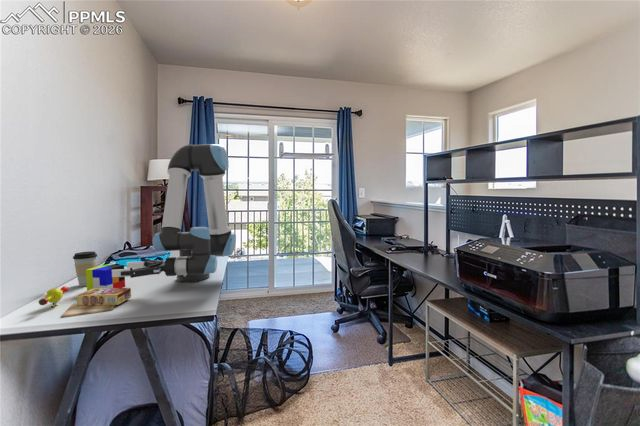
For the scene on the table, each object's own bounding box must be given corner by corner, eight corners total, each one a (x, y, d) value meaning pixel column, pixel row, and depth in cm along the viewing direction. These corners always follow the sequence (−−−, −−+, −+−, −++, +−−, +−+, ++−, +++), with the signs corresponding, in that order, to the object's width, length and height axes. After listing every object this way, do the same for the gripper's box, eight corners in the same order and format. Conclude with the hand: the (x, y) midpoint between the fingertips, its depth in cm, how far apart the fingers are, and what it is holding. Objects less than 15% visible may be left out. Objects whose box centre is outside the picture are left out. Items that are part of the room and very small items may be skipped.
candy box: (117, 293, 120) (75, 295, 120) (118, 305, 121) (76, 307, 120) (130, 286, 129) (91, 288, 129) (131, 297, 130) (92, 299, 129)
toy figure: (57, 299, 130) (56, 283, 130) (73, 298, 132) (72, 281, 132) (31, 315, 113) (30, 296, 113) (50, 313, 115) (49, 294, 114)
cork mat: (118, 299, 129) (118, 298, 129) (112, 310, 117) (112, 308, 117) (72, 305, 123) (72, 304, 123) (61, 317, 111) (61, 315, 111)
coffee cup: (73, 284, 153) (71, 253, 152) (97, 280, 159) (95, 250, 158) (75, 288, 146) (73, 255, 145) (100, 284, 152) (98, 252, 151)
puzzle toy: (106, 293, 138) (105, 270, 137) (87, 292, 140) (85, 269, 139) (125, 286, 148) (124, 265, 147) (106, 285, 150) (105, 264, 149)
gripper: (168, 283, 121) (105, 287, 117) (184, 268, 145) (133, 271, 141) (167, 263, 120) (104, 267, 116) (183, 251, 145) (132, 254, 141)
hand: (120, 269), depth 129 cm, fingers open, 13 cm apart
